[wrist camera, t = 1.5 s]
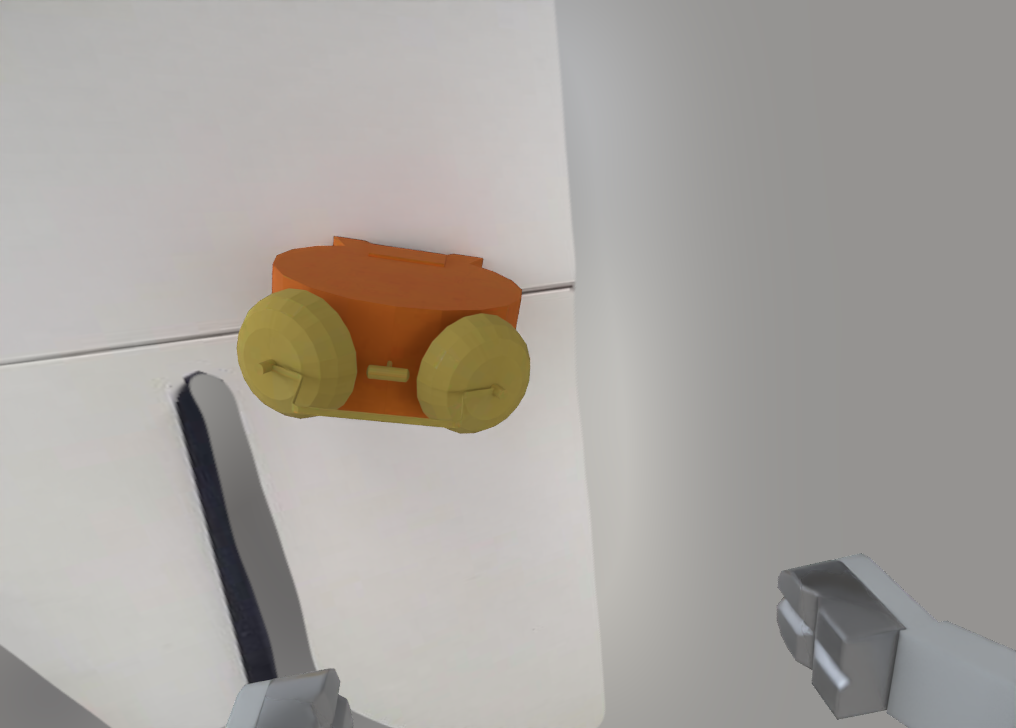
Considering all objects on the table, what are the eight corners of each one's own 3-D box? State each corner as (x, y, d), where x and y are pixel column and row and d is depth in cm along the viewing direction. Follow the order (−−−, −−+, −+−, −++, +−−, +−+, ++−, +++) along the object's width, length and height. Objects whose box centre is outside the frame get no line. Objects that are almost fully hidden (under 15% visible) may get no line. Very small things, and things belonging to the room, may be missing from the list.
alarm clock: (305, 317, 39) (185, 479, 20) (308, 229, 36) (178, 319, 18) (492, 340, 41) (537, 504, 22) (506, 258, 39) (569, 365, 20)
